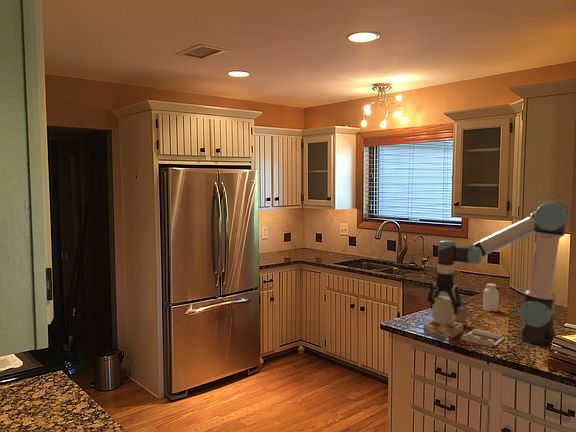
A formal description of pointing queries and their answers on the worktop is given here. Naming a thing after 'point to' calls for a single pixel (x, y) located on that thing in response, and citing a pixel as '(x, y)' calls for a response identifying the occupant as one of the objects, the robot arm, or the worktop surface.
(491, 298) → the pill bottle
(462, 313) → the flower pot
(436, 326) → the open box
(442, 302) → the can
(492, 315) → the worktop surface
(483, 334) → the white square frame
